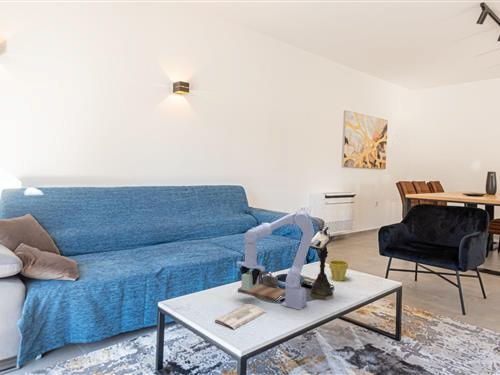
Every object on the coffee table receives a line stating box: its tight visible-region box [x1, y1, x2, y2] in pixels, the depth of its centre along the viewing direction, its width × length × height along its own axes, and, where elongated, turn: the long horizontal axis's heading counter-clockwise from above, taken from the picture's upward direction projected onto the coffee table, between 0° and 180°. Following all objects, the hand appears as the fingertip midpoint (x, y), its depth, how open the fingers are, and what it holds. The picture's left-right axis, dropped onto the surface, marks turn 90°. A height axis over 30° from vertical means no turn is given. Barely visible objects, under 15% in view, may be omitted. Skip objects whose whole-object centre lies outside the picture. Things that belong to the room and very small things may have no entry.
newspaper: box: [214, 303, 267, 331], centre depth 153 cm, size 23×12×2 cm, turn 141°
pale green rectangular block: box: [241, 269, 259, 291], centre depth 170 cm, size 4×9×7 cm, turn 148°
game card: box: [259, 270, 273, 284], centre depth 195 cm, size 7×5×9 cm
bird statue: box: [309, 226, 336, 301], centre depth 176 cm, size 17×13×35 cm
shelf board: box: [237, 274, 285, 302], centre depth 182 cm, size 22×13×7 cm, turn 58°
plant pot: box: [328, 259, 349, 282], centre depth 204 cm, size 10×10×10 cm
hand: (250, 283), depth 170 cm, fingers closed on pale green rectangular block, 4 cm apart
